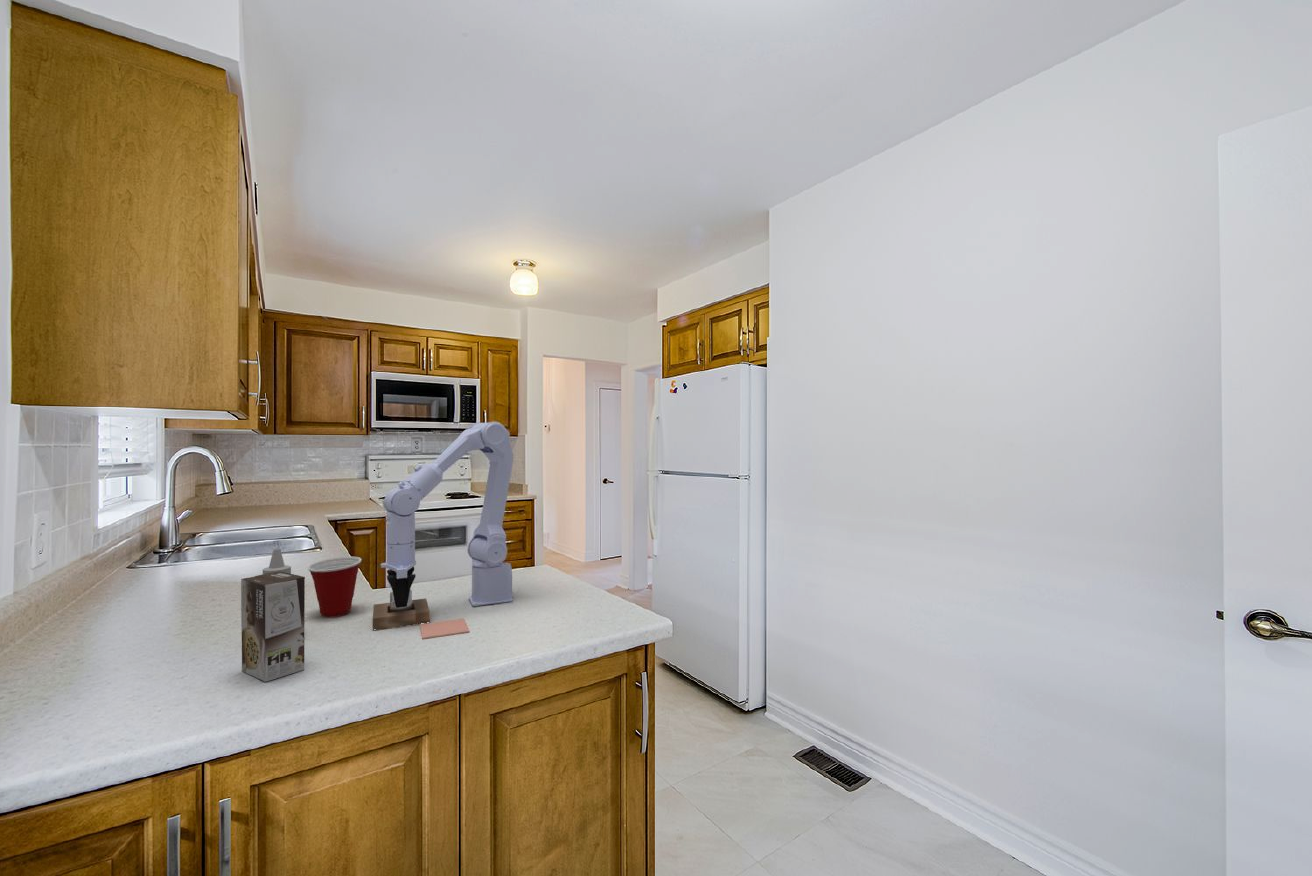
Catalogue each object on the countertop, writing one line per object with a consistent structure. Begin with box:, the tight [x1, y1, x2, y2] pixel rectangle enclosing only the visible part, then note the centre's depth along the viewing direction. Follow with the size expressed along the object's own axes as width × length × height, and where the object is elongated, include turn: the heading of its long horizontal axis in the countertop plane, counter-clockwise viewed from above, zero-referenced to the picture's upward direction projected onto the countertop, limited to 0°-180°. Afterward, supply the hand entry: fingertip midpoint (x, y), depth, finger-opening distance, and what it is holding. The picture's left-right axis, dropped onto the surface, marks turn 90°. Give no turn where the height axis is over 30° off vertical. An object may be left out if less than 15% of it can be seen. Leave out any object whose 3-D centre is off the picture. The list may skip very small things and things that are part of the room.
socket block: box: [372, 597, 431, 631], centre depth 122 cm, size 11×11×2 cm
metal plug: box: [389, 589, 413, 613], centre depth 122 cm, size 4×4×6 cm
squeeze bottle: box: [262, 548, 292, 574], centre depth 110 cm, size 8×8×18 cm
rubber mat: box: [419, 617, 471, 640], centre depth 116 cm, size 9×9×1 cm
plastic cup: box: [307, 556, 363, 618], centre depth 126 cm, size 11×11×12 cm
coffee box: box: [240, 571, 306, 683], centre depth 95 cm, size 9×6×16 cm
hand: (401, 603), depth 122 cm, fingers closed on metal plug, 4 cm apart
